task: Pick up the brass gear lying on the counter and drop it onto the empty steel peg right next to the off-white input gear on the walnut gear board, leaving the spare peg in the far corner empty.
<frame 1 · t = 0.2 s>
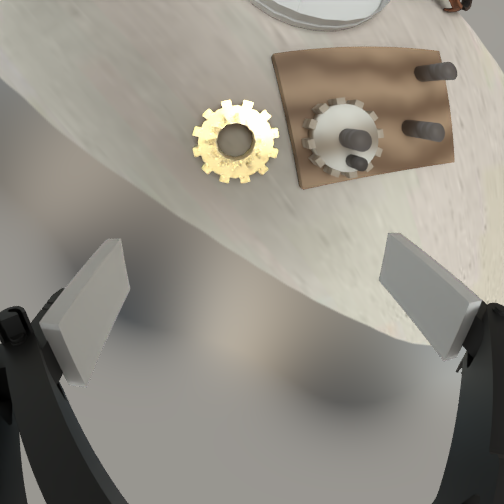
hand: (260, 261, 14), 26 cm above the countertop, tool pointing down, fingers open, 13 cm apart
brass gear: (234, 139, 36), on the countertop
gear board: (375, 109, 35), on the countertop
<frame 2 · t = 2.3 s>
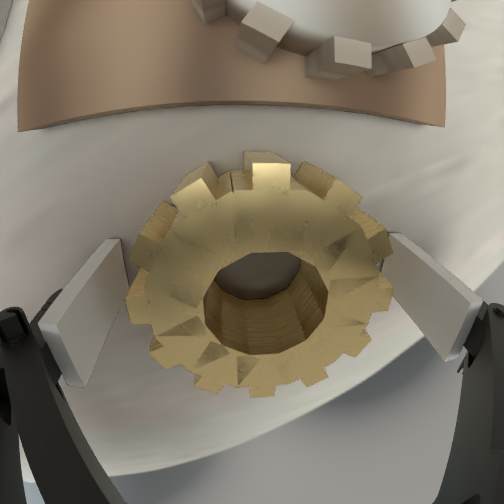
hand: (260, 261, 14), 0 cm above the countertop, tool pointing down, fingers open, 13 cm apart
brass gear: (255, 260, 14), on the countertop
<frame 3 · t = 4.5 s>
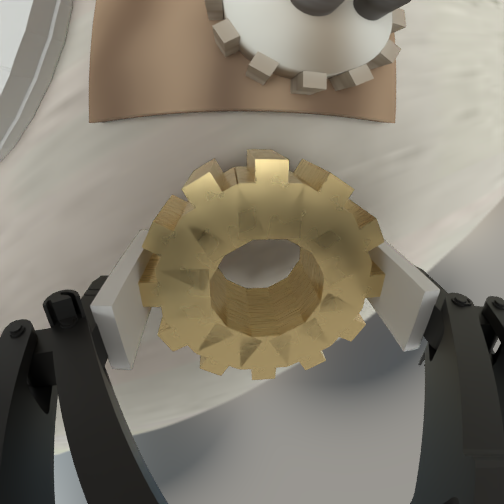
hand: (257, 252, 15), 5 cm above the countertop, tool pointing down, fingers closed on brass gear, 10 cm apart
brass gear: (257, 250, 15), point 5 cm above the countertop, touching gripper
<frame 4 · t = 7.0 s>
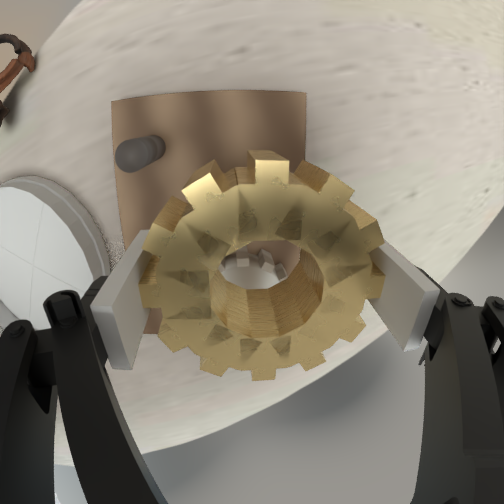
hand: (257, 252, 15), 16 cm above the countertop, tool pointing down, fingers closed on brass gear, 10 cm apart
brass gear: (257, 251, 15), point 16 cm above the countertop, touching gripper
dish: (39, 260, 31), on the countertop
brown curved piece: (9, 87, 21), on the countertop
gear board: (210, 221, 31), on the countertop
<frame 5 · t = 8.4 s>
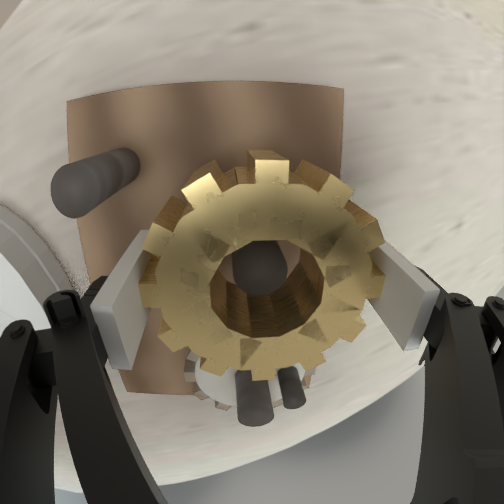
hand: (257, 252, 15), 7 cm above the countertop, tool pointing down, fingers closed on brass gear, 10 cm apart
brass gear: (257, 251, 15), point 7 cm above the countertop, touching gripper
dish: (3, 298, 23), on the countertop
gear board: (206, 264, 23), on the countertop
when the fingers open (5 cm above the countertop, at t = 9.6 s): brass gear drops 3 cm, resting on gear board.
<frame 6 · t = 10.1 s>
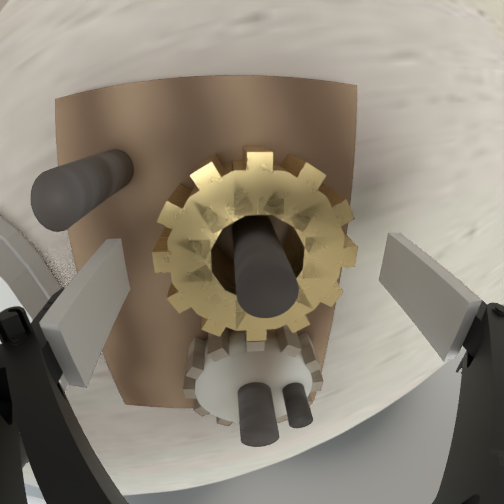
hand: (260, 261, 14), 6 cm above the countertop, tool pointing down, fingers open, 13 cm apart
brass gear: (251, 230, 18), point 2 cm above the countertop, touching gear board
gear board: (206, 274, 21), on the countertop
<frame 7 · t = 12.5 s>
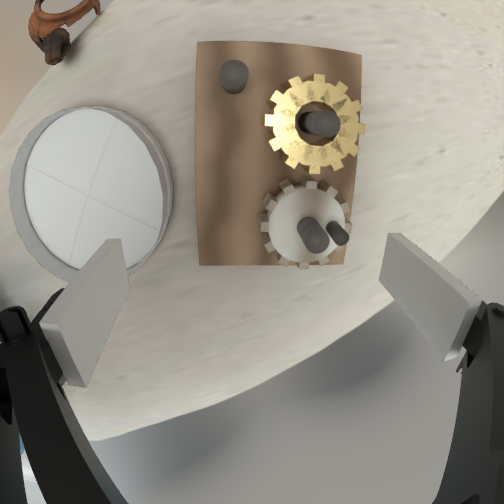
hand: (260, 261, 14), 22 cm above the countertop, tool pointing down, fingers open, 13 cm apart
brass gear: (307, 123, 30), point 2 cm above the countertop, touching gear board
dish: (92, 192, 34), on the countertop
brown curved piece: (70, 29, 24), on the countertop
gear board: (276, 154, 33), on the countertop
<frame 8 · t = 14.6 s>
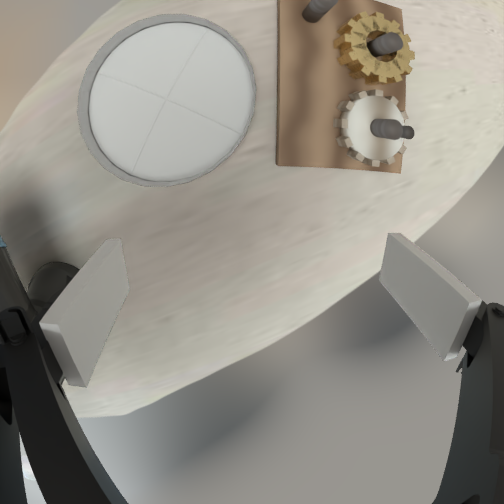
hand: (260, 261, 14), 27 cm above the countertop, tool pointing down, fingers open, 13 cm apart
brass gear: (368, 51, 30), point 2 cm above the countertop, touching gear board
dish: (168, 99, 34), on the countertop
gear board: (343, 75, 34), on the countertop
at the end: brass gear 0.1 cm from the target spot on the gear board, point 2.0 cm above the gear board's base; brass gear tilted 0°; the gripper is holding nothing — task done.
